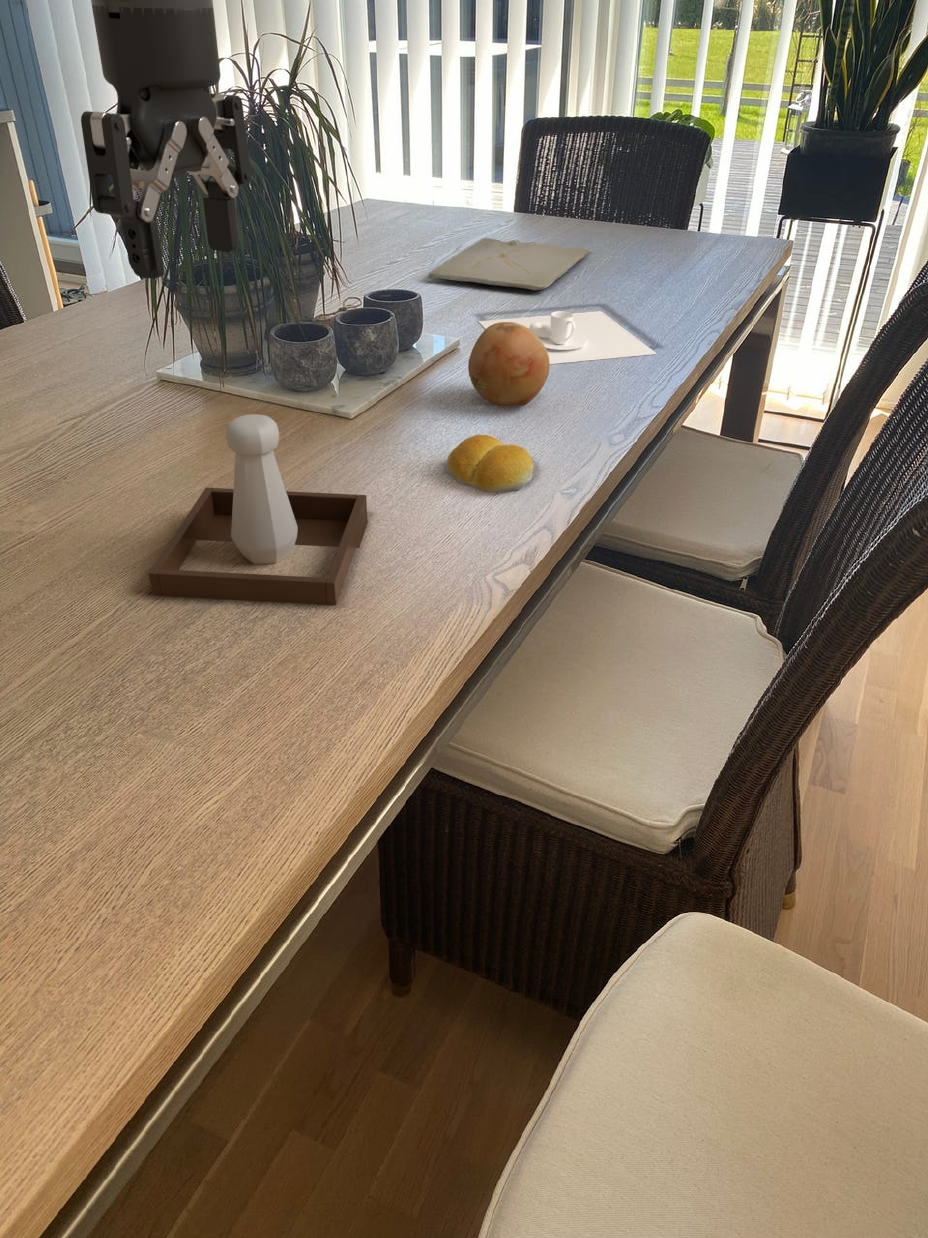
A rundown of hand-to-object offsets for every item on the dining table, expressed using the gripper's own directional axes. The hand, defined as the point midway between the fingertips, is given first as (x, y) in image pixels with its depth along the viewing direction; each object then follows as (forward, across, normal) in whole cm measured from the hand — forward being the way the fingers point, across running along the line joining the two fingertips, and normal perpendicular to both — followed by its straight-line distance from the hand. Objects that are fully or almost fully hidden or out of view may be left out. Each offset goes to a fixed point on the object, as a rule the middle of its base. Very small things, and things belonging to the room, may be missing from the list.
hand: (188, 262), depth 70 cm
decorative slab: (+25, -103, -15) cm, 107 cm away
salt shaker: (+26, -3, +2) cm, 26 cm away
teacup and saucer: (+26, -73, +6) cm, 78 cm away
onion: (+26, -46, +8) cm, 54 cm away
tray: (+26, -3, +2) cm, 27 cm away
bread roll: (+26, -27, +14) cm, 40 cm away
